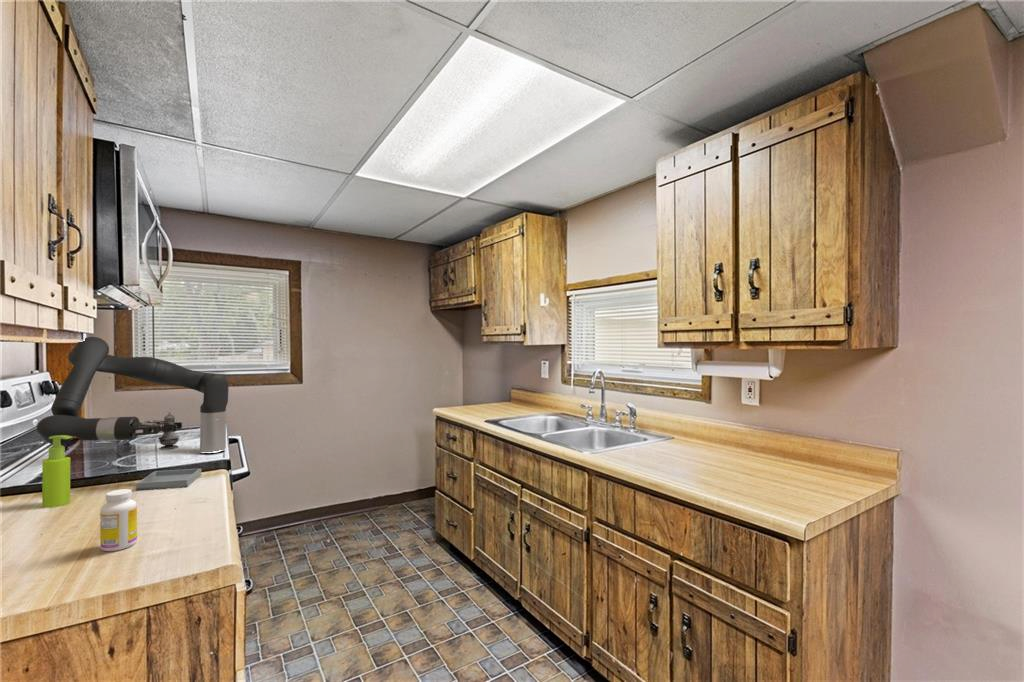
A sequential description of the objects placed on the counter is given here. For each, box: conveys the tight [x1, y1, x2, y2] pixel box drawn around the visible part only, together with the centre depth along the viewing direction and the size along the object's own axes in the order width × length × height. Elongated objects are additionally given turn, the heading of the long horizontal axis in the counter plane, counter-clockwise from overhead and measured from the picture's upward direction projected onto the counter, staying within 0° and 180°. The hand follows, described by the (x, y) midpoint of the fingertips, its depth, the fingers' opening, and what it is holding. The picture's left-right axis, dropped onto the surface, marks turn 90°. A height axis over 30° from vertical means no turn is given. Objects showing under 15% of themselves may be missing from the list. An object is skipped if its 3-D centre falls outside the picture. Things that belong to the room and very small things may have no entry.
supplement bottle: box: [99, 488, 138, 552], centre depth 112 cm, size 7×7×13 cm
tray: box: [135, 468, 202, 492], centre depth 159 cm, size 14×14×2 cm
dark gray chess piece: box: [158, 412, 181, 451], centre depth 159 cm, size 6×6×12 cm
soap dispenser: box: [41, 435, 74, 508], centre depth 138 cm, size 6×7×20 cm
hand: (179, 426), depth 160 cm, fingers closed on dark gray chess piece, 3 cm apart
